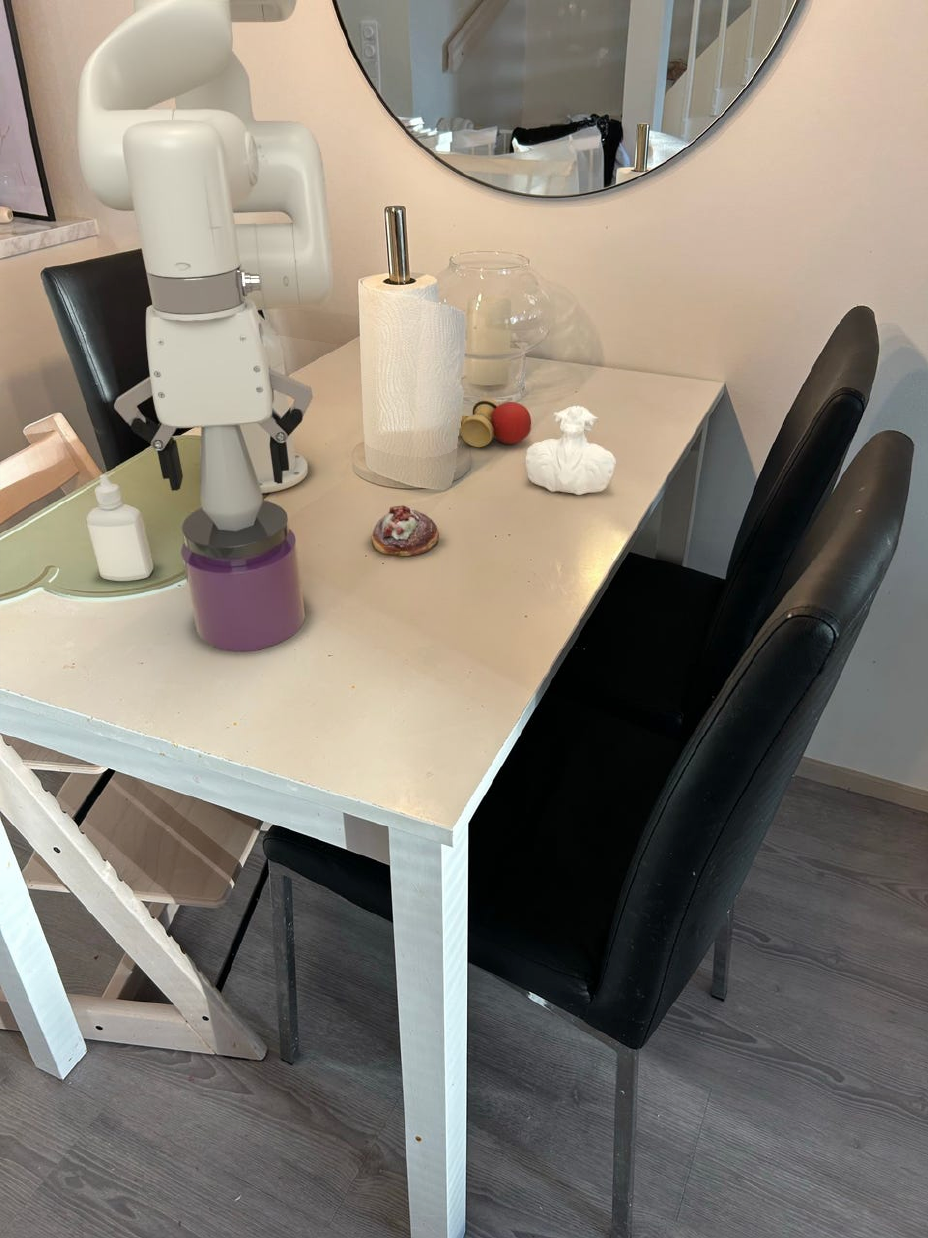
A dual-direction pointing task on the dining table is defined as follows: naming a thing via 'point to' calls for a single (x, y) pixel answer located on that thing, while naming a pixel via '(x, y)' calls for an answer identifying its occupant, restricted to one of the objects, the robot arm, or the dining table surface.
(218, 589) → the jar
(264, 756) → the dining table surface
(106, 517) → the eye dropper bottle
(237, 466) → the salt shaker
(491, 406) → the kendama
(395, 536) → the pastry
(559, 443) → the bust
